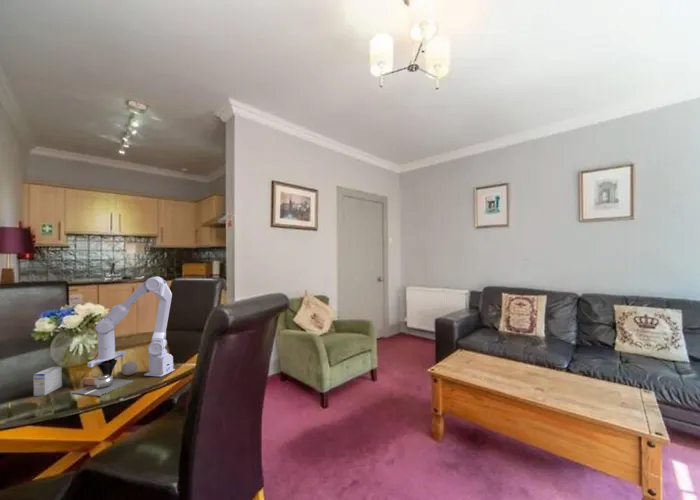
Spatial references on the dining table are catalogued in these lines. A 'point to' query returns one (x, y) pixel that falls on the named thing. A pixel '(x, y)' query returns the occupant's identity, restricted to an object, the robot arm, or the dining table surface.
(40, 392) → the medicine box
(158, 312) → the robot arm
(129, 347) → the dining table surface
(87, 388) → the lock base
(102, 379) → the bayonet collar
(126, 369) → the lightbulb
